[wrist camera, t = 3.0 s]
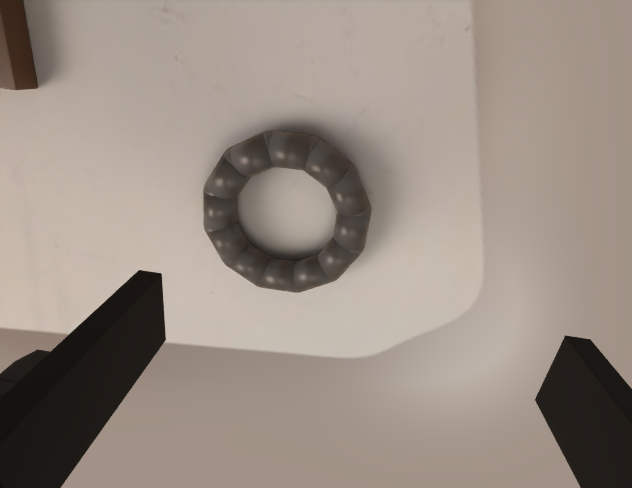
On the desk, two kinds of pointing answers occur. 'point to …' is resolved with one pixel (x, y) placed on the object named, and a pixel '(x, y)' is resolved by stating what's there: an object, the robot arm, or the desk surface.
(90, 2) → the desk surface
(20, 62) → the stand
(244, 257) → the ring
